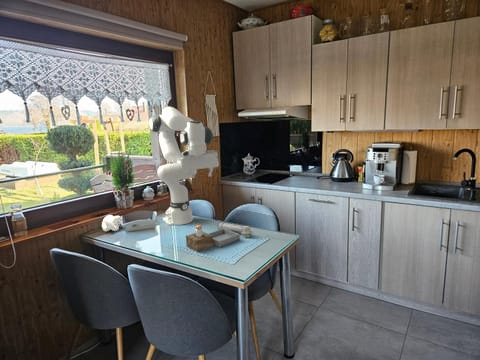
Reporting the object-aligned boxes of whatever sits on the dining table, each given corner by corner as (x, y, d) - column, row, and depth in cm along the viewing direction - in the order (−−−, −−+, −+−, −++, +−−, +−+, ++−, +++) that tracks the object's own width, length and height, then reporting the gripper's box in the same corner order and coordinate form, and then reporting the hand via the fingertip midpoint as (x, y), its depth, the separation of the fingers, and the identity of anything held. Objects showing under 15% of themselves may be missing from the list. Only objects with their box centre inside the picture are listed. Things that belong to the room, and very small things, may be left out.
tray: (203, 240, 171) (203, 234, 171) (223, 234, 180) (223, 228, 180) (219, 247, 161) (219, 241, 160) (239, 240, 170) (239, 234, 169)
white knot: (97, 233, 191) (95, 219, 189) (109, 226, 202) (107, 213, 201) (113, 233, 188) (112, 219, 187) (124, 227, 200) (123, 213, 198)
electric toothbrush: (222, 221, 192) (252, 224, 174) (224, 232, 192) (254, 235, 175) (216, 223, 188) (246, 226, 170) (217, 234, 188) (248, 238, 171)
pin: (195, 246, 164) (194, 226, 162) (200, 244, 166) (199, 224, 164) (199, 248, 162) (197, 227, 160) (204, 246, 164) (202, 226, 162)
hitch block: (186, 246, 164) (185, 235, 163) (202, 241, 171) (201, 230, 170) (197, 252, 157) (196, 240, 156) (213, 246, 163) (212, 235, 162)
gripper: (218, 149, 166) (221, 174, 168) (183, 152, 171) (186, 177, 173) (215, 149, 160) (218, 176, 162) (178, 153, 165) (181, 179, 167)
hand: (201, 177), depth 167 cm, fingers open, 8 cm apart
